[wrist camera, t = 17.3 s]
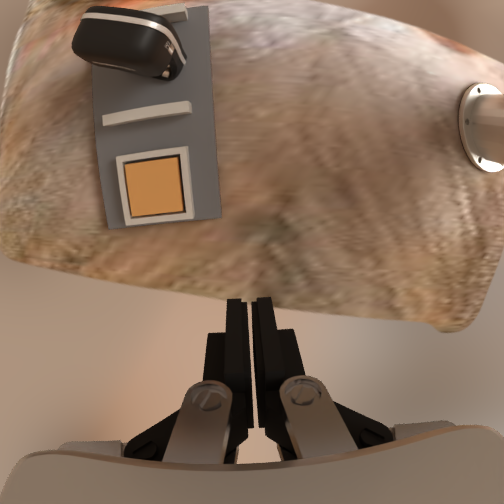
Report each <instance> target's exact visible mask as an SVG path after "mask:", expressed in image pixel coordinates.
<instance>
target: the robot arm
mask: <svg viewBox="0 0 504 504" xmlns="http://www.w3.org/2000/svg"><path fill="white" fill-rule="evenodd" d="M459 129H460V135H461V140H462V143H463V146H464V149H465V151H466V153H467V155H468V157H469V159H470V160H471V161H472V163H473V164H474V165H475V166H476V167H477V168H479V169H481V170H483V171H486V172H491V173H494V172H498V171H500V170H501V169H503V168H504V94H501V92H500V91H499V90H498V89H496V88H495V87H494V86H492V85H490V84H487V83H477V84H473V85H472V86H470V87H469V88H468V89H467V90H466V92H465V93H464V95H463V97H462V100H461V104H460V109H459ZM251 305H252V330H253V331H252V332H253V355H254V356H253V357H254V372H255V385H256V398H257V409H258V423H259V428H265V435H266V436H267V437H268V438H270V439H271V440H273V441H275V442H276V443H277V449H278V452H279V455H280V458H281V461H280V462H268V463H252V464H237V458H238V452H239V445H240V444H241V443H242V442H243V441H245V440H246V439H247V438H248V428H254V419H253V399H252V378H251V360H250V346H249V330H248V312H247V302H241V299H227V311H226V332H225V333H208V338H207V346H206V355H205V364H204V373H203V381H202V382H198V383H196V384H194V385H193V386H192V387H190V388H189V389H188V391H187V393H186V394H185V397H184V400H183V403H182V406H181V408H180V409H179V410H178V411H176V412H174V413H173V414H171V415H170V416H168V417H166V418H165V419H163V420H162V421H160V422H159V423H157V424H155V425H154V426H152V427H151V428H149V429H147V430H146V431H144V432H142V433H141V434H139V435H137V436H136V437H134V438H133V439H131V440H130V441H129V442H128V443H122V442H121V441H120V440H119V441H118V440H117V441H91V442H67V443H64V444H63V445H61V446H60V447H59V449H58V450H46V451H38V452H34V453H31V454H28V455H26V456H24V457H23V458H22V459H20V460H19V461H18V463H17V464H16V465H15V467H14V468H13V470H12V471H11V473H10V475H9V477H8V479H7V481H6V483H5V486H4V488H3V490H2V492H1V495H0V504H504V437H503V436H502V435H501V434H500V433H499V432H498V431H496V430H495V429H493V428H490V427H488V426H482V425H458V426H456V425H454V424H453V423H452V422H449V421H442V420H441V421H432V422H422V423H411V424H395V425H394V426H393V427H390V428H388V427H386V426H385V425H383V424H382V423H380V422H377V421H375V420H373V419H370V418H368V417H366V416H364V415H362V414H359V413H357V412H355V411H353V410H351V409H349V408H346V407H345V406H342V405H340V404H338V403H336V402H334V401H333V400H332V398H331V397H330V394H329V393H328V391H327V389H326V387H325V386H324V384H323V383H322V382H321V381H320V380H318V379H317V378H314V377H311V376H306V375H305V371H304V367H303V364H302V359H301V355H300V352H299V348H298V344H297V340H296V336H295V332H294V330H293V329H282V330H277V326H276V321H275V315H274V310H273V305H272V300H271V297H262V298H257V302H251Z"/></svg>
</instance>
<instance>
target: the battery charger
mask: <svg viewBox="0 0 504 504" xmlns="http://www.w3.org/2000/svg"><path fill="white" fill-rule="evenodd" d="M80 21H81V22H80V24H79V26H78V29H77V31H76V33H75V35H74V37H73V41H72V49H73V51H74V53H75V54H76V55H77V56H79V57H80V58H82V59H84V60H85V61H87V62H89V63H91V64H93V65H96V66H99V67H104V68H110V69H116V70H121V71H125V72H129V73H133V74H138V75H142V76H147V77H150V78H154V79H159V80H163V81H172V80H174V79H175V78H176V77H177V76H178V75H179V73H180V72H181V71H182V68H183V66H184V65H185V64H186V59H187V55H186V53H185V52H184V50H183V48H182V44H181V42H180V39H179V36H178V34H177V32H176V31H175V29H174V27H173V25H172V24H171V23H170V22H169V21H168V20H167V19H166V18H164V17H162V16H160V15H157V14H154V13H150V12H145V11H139V10H133V9H126V8H117V7H106V6H93V7H90V8H89V9H87V11H86V12H85V14H83V16H82V18H81V20H80Z"/></svg>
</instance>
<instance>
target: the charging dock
mask: <svg viewBox="0 0 504 504" xmlns="http://www.w3.org/2000/svg"><path fill="white" fill-rule="evenodd" d="M139 11H145V12H150V13H154V14H157V15H160V16H162V17H164V18H166V19H167V20H168V21H169V22H170V23H171V24H172V25H173V27H174V29H175V31H176V32H177V34H178V36H179V39H180V42H181V44H182V48H183V50H184V52H185V53H186V55H187V59H186V64H185V65H184V66H183V68H182V71H181V72H180V73H179V75H178V76H177V77H176V78H175V79H174V80H172V81H163V80H159V79H154V78H150V77H147V76H142V75H138V74H133V73H129V72H125V71H121V70H116V69H110V68H104V67H99V66H96V65H93V64H92V96H93V114H94V128H95V139H96V149H97V158H98V166H99V174H100V181H101V188H102V194H103V200H104V206H105V212H106V217H107V223H108V228H109V229H118V228H127V227H136V226H145V225H154V224H164V223H174V222H184V221H194V220H205V219H217V218H222V211H221V200H220V188H219V175H218V162H217V149H216V135H215V121H214V105H213V89H212V71H211V51H210V29H209V9H208V6H201V7H192V8H186V6H185V3H178V4H172V5H165V6H160V7H154V8H149V9H144V10H139ZM171 157H179V164H180V174H181V184H182V193H183V202H184V209H183V211H177V212H168V213H158V214H149V215H141V216H132V212H131V206H130V199H129V193H128V186H127V178H126V170H125V165H126V164H129V163H135V162H142V161H149V160H156V159H163V158H171Z"/></svg>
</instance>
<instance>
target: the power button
mask: <svg viewBox="0 0 504 504" xmlns="http://www.w3.org/2000/svg"><path fill="white" fill-rule="evenodd" d="M125 170H126V178H127V186H128V193H129V199H130V206H131V212H132V216H141V215H149V214H158V213H168V212H177V211H183V209H184V202H183V193H182V184H181V174H180V164H179V157H171V158H163V159H156V160H149V161H142V162H135V163H129V164H126V165H125Z"/></svg>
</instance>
